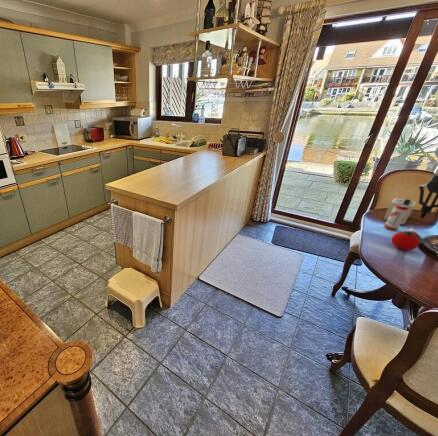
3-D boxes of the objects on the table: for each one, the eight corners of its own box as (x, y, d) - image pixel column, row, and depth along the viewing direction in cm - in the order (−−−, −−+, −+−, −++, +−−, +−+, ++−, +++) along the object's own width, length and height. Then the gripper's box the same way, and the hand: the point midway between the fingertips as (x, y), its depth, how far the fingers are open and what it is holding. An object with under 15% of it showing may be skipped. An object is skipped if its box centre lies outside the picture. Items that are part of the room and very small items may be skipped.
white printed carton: (407, 220, 163) (416, 202, 157) (403, 225, 156) (412, 207, 151) (387, 215, 170) (395, 197, 165) (382, 220, 164) (390, 202, 158)
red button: (417, 235, 138) (418, 232, 138) (415, 237, 136) (417, 235, 135) (407, 232, 141) (408, 230, 141) (405, 234, 139) (407, 232, 138)
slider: (409, 204, 154) (411, 199, 153) (408, 205, 153) (410, 200, 152) (403, 203, 156) (406, 198, 155) (403, 204, 155) (405, 199, 153)
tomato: (383, 243, 138) (391, 227, 133) (399, 242, 139) (408, 227, 134) (401, 254, 128) (411, 238, 124) (419, 253, 129) (429, 237, 125)
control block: (422, 241, 139) (425, 235, 137) (419, 246, 135) (423, 240, 133) (398, 235, 146) (401, 229, 144) (395, 239, 142) (398, 233, 140)
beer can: (393, 227, 155) (406, 204, 147) (399, 232, 149) (412, 208, 142) (381, 225, 156) (393, 202, 149) (386, 230, 151) (399, 206, 144)
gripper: (424, 174, 127) (404, 215, 137) (463, 179, 117) (438, 223, 128) (426, 171, 131) (407, 211, 141) (464, 176, 121) (440, 219, 132)
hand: (422, 217), depth 134 cm, fingers closed
